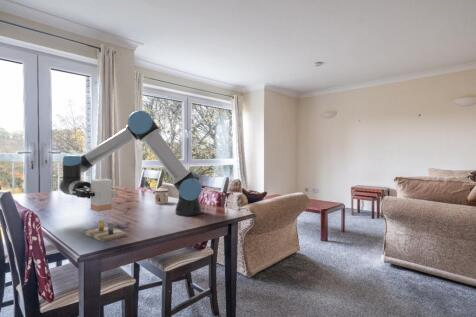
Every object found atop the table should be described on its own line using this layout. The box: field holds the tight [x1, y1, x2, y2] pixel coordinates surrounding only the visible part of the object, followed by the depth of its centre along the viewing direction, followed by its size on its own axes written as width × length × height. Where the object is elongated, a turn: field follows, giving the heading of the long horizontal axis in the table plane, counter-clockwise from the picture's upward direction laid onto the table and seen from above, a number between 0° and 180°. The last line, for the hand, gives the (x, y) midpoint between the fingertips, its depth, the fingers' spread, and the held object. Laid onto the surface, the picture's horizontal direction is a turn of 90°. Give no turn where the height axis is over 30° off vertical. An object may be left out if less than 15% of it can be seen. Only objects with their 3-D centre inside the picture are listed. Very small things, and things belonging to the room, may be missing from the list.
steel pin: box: [107, 222, 114, 234], centre depth 114 cm, size 2×2×4 cm
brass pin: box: [98, 220, 105, 231], centre depth 119 cm, size 2×2×4 cm
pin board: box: [83, 225, 127, 243], centre depth 117 cm, size 16×10×2 cm, turn 55°
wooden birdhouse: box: [154, 185, 169, 205], centre depth 188 cm, size 12×9×12 cm
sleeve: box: [90, 178, 113, 213], centre depth 118 cm, size 6×6×13 cm
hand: (107, 194), depth 115 cm, fingers closed on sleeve, 6 cm apart
